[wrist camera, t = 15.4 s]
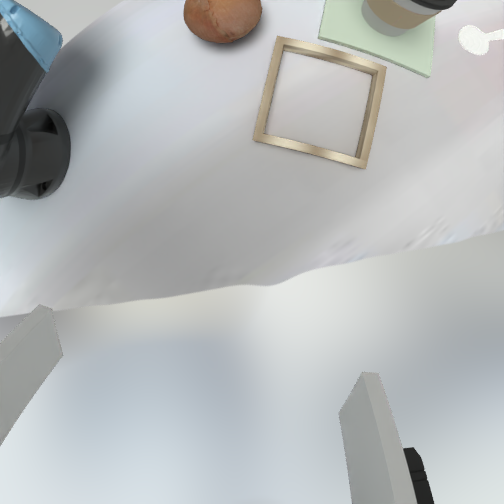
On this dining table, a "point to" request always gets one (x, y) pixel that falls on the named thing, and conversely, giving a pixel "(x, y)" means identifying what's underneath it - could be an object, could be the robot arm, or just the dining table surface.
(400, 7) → the coffee cup
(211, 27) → the onion
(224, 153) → the dining table surface
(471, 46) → the spoon
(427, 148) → the dining table surface
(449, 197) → the dining table surface
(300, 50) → the picture frame
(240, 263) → the dining table surface
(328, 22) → the mat
